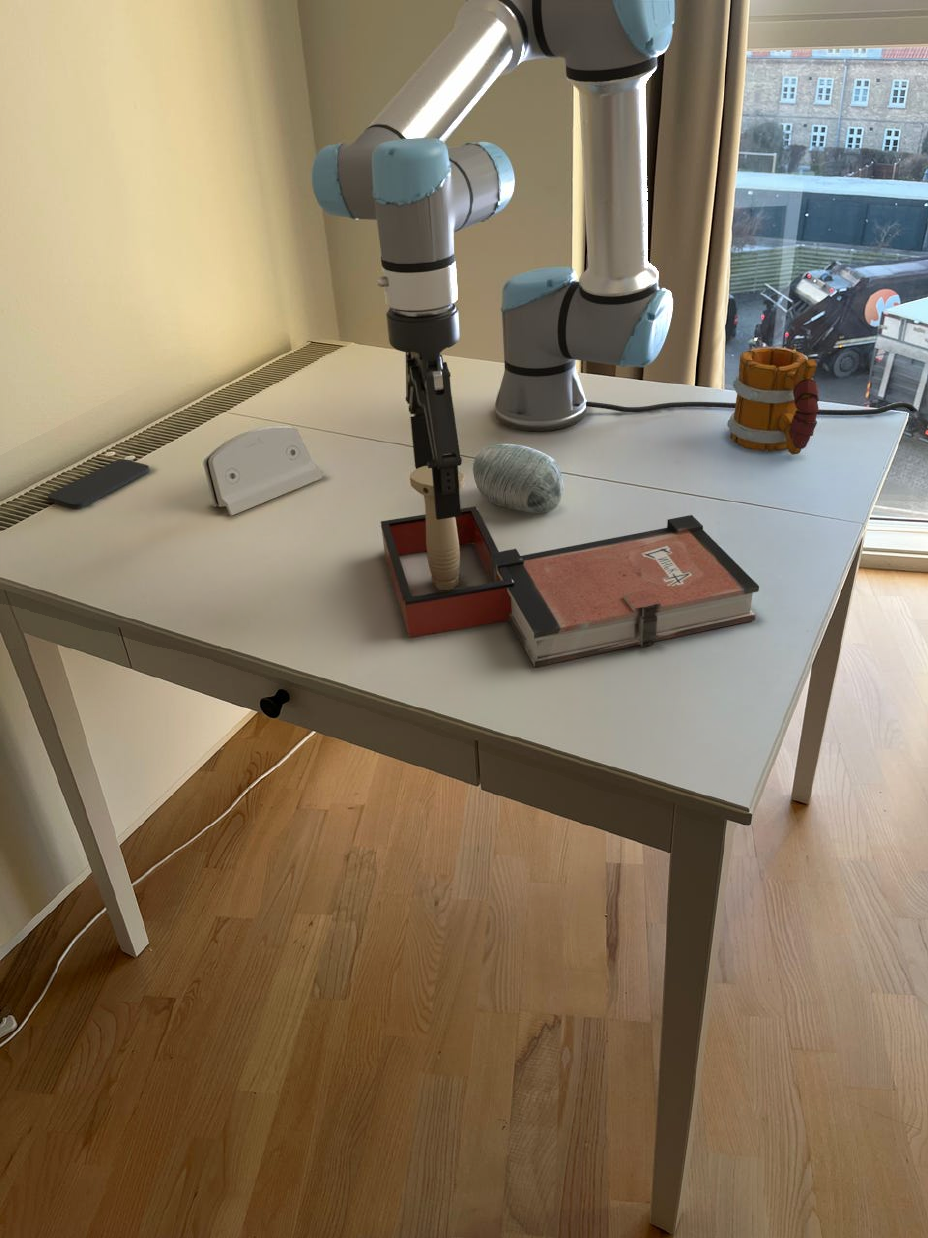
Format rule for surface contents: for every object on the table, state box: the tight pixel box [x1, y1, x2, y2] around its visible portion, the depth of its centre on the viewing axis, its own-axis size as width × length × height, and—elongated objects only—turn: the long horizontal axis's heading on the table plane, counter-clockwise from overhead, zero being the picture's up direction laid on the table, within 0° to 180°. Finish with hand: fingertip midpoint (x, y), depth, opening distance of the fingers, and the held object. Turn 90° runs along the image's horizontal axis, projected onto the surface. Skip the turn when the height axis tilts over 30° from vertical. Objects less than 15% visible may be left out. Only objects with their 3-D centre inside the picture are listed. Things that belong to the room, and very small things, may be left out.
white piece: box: [202, 426, 323, 516], centre depth 142 cm, size 17×5×10 cm, turn 132°
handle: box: [409, 466, 465, 592], centre depth 114 cm, size 5×6×15 cm
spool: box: [472, 443, 564, 513], centre depth 133 cm, size 14×10×10 cm
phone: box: [47, 458, 151, 509], centre depth 149 cm, size 7×1×15 cm
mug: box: [726, 346, 820, 455], centre depth 142 cm, size 11×16×15 cm, turn 18°
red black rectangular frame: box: [380, 505, 514, 638], centre depth 117 cm, size 13×20×5 cm, turn 12°
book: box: [490, 514, 760, 668], centre depth 111 cm, size 26×18×5 cm
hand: (436, 490), depth 111 cm, fingers open, 13 cm apart
